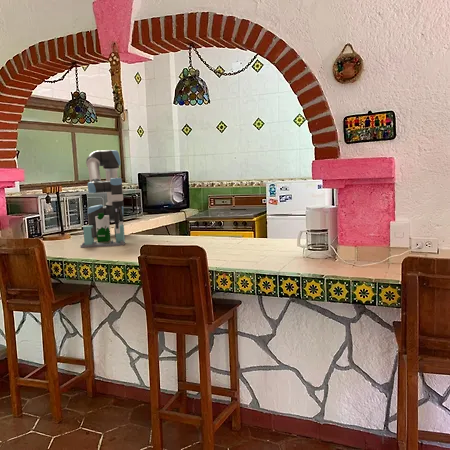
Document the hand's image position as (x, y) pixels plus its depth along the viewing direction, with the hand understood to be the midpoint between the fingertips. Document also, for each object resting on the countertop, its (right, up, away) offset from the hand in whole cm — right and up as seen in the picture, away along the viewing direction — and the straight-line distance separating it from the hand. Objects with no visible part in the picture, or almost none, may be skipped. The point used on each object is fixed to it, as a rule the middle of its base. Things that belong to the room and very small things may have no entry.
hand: (119, 232), depth 325 cm
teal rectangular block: (-19, -8, -7) cm, 21 cm away
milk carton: (-14, -7, +14) cm, 21 cm away
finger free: (0, -7, +1) cm, 8 cm away
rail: (-9, -9, -7) cm, 15 cm away
